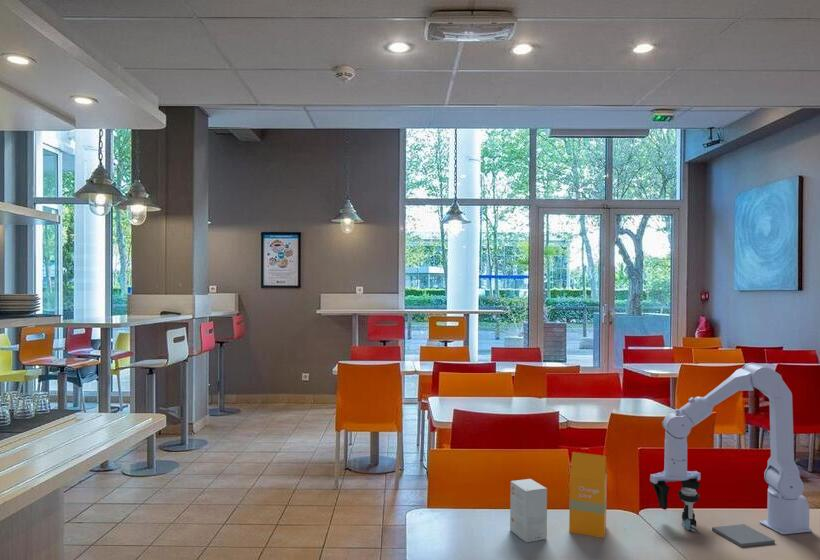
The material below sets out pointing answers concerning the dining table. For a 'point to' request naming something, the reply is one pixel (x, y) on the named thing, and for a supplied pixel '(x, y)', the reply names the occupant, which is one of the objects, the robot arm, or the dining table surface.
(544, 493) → the small box
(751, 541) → the rubber pad
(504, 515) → the dining table surface
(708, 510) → the dining table surface
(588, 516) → the orange juice
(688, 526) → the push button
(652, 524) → the dining table surface
